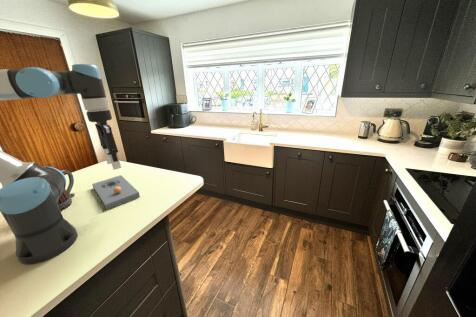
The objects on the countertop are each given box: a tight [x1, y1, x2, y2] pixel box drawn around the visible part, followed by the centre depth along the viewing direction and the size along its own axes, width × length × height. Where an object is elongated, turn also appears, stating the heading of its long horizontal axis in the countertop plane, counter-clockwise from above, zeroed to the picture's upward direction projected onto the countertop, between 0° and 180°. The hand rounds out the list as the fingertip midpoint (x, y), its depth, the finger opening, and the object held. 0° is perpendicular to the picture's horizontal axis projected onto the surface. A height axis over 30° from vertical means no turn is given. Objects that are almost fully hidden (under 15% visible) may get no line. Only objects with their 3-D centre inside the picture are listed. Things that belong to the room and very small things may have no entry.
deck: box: [91, 175, 141, 211], centre depth 99 cm, size 28×14×2 cm, turn 45°
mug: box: [57, 169, 76, 212], centre depth 89 cm, size 16×11×15 cm
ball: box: [114, 187, 121, 193], centre depth 93 cm, size 3×3×3 cm
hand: (114, 165), depth 82 cm, fingers open, 8 cm apart
